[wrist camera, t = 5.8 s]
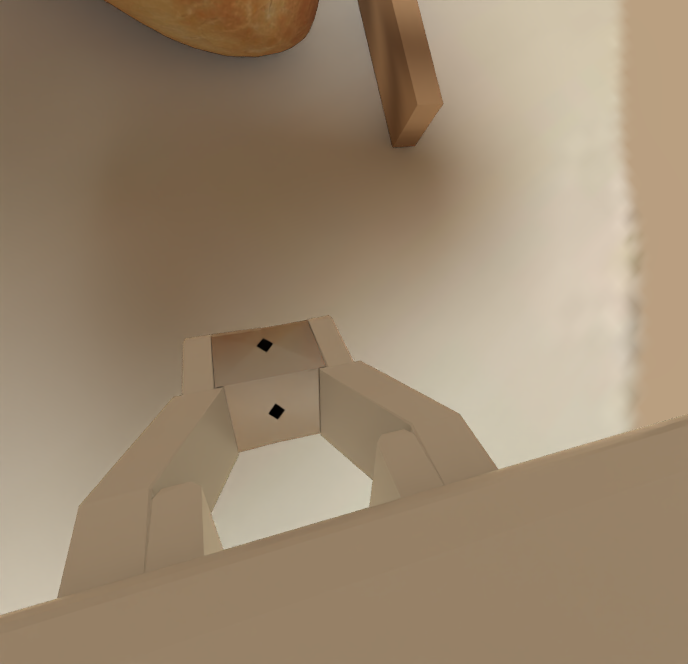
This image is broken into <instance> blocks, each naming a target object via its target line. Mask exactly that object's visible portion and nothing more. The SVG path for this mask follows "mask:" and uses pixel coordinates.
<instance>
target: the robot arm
mask: <svg viewBox="0 0 688 664" xmlns="http://www.w3.org/2000/svg"><path fill="white" fill-rule="evenodd" d="M320 433H321V436H322V437H324V438H325V439H326V440H327V441H328V442H329V443H330V444H332V445H333V446H334V447H335V448H336V449H337V450H338V451H340V452H341V453H342V454H343V455H344V456H345V457H347V458H348V459H349V460H350V461H351V462H352V463H353V464H355V465H356V466H357V467H358V468H359V469H360V470H361V471H363V472H364V473H365V474H366V475H367V476H368V477H370V478H371V479H372V480H373V482H372V489H371V497H370V505H369V508H365V509H362V510H358V511H355V512H352V513H348V514H345V515H341V516H338V517H335V518H331V519H328V520H324V521H321V522H317V523H314V524H311V525H307V526H304V527H300V528H297V529H294V530H290V531H287V532H283V533H280V534H276V535H273V536H270V537H266V538H263V539H259V540H256V541H252V542H249V543H246V544H242V545H239V546H235V547H232V548H229V549H225V550H223V547H222V544H221V541H220V538H219V535H218V533H217V530H216V527H215V524H214V521H213V518H212V515H211V512H212V510H213V508H214V506H215V504H216V502H217V500H218V498H219V496H220V493H221V491H222V489H223V487H224V485H225V483H226V481H227V479H228V477H229V475H230V472H231V470H232V468H233V466H234V464H235V462H236V460H237V458H238V456H239V454H238V453H239V452H243V451H246V450H250V449H254V448H258V447H262V446H265V445H269V444H273V443H277V442H281V441H286V440H291V439H295V438H300V437H305V436H310V435H315V434H320ZM0 664H688V414H686V415H683V416H679V417H676V418H673V419H669V420H666V421H662V422H659V423H655V424H652V425H649V426H645V427H642V428H638V429H635V430H632V431H628V432H625V433H621V434H618V435H614V436H611V437H608V438H604V439H601V440H597V441H594V442H591V443H587V444H584V445H580V446H577V447H574V448H570V449H567V450H563V451H560V452H556V453H553V454H550V455H546V456H543V457H539V458H536V459H533V460H529V461H526V462H522V463H519V464H516V465H512V466H509V467H505V468H502V469H498V468H497V467H496V465H495V464H494V462H493V461H492V460H491V458H490V457H489V455H488V454H487V452H486V451H485V449H484V448H483V447H482V445H481V444H480V442H479V441H478V439H477V438H476V437H475V435H474V434H473V432H472V431H471V429H470V428H469V427H468V425H467V424H466V422H465V421H464V419H463V418H462V417H461V415H460V414H459V413H457V412H455V411H453V410H451V409H449V408H448V407H446V406H444V405H442V404H440V403H438V402H436V401H435V400H433V399H431V398H429V397H427V396H425V395H423V394H422V393H420V392H418V391H416V390H414V389H412V388H410V387H409V386H407V385H405V384H403V383H401V382H399V381H397V380H395V379H394V378H392V377H390V376H388V375H386V374H384V373H382V372H381V371H379V370H377V369H375V368H373V367H371V366H369V365H368V364H366V363H364V362H362V361H357V362H354V361H353V359H352V357H351V355H350V353H349V351H348V349H347V347H346V345H345V343H344V341H343V339H342V337H341V335H340V333H339V331H338V329H337V327H336V325H335V323H334V321H333V319H332V317H330V316H329V315H328V316H322V317H317V318H312V319H307V320H305V321H299V322H293V323H287V324H281V325H275V326H269V327H263V328H261V327H260V328H253V329H246V330H238V331H231V332H224V333H217V334H212V335H203V336H197V337H190V338H185V340H184V342H183V367H182V395H180V396H175V397H173V398H172V399H171V400H170V402H169V403H168V404H167V405H166V406H165V407H164V409H163V410H162V411H161V412H160V413H159V414H158V415H157V417H156V418H155V419H154V420H153V421H152V422H151V424H150V425H149V426H148V427H147V428H146V429H145V430H144V432H143V433H142V434H141V435H140V436H139V437H138V439H137V440H136V441H135V442H134V443H133V444H132V445H131V447H130V448H129V449H128V450H127V451H126V452H125V454H124V455H123V456H122V457H121V458H120V459H119V460H118V462H117V463H116V464H115V465H114V466H113V467H112V469H111V470H110V471H109V472H108V473H107V474H106V475H105V477H104V478H103V479H102V480H101V481H100V482H99V484H98V485H97V486H96V487H95V488H94V489H93V490H92V492H91V493H90V494H89V495H88V496H87V497H86V499H85V500H84V501H83V502H82V503H81V504H80V506H79V508H78V513H77V517H76V521H75V525H74V530H73V534H72V538H71V542H70V547H69V551H68V555H67V559H66V564H65V568H64V572H63V576H62V581H61V585H60V589H59V593H58V597H57V599H54V600H51V601H47V602H44V603H40V604H37V605H33V606H30V607H27V608H23V609H20V610H16V611H13V612H10V613H6V614H3V615H0Z"/></svg>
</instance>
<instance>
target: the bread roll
mask: <svg viewBox="0 0 688 664" xmlns="http://www.w3.org/2000/svg"><path fill="white" fill-rule="evenodd" d="M104 1H106V2H108V3H110V4H112V5H113V6H115V7H116V8H118V9H119V10H121V11H123V12H124V13H126V14H127V15H129V16H131V17H132V18H134V19H136V20H137V21H139V22H141V23H143V24H144V25H146V26H148V27H150V28H152V29H154V30H155V31H157V32H159V33H161V34H162V35H164V36H166V37H169V38H171V39H173V40H176V41H178V42H181V43H183V44H186V45H188V46H191V47H193V48H197V49H201V50H205V51H209V52H213V53H217V54H221V55H225V56H251V57H259V56H263V55H268V54H274V53H278V52H282V51H284V50H287V49H289V48H292V47H293V46H294V45H296V44H297V43H298V42H300V41H301V40H302V39H304V38H305V37H306V35H307V34H308V32H309V30H310V28H311V26H312V23H313V21H314V19H315V15H316V11H317V7H318V2H319V0H104Z"/></svg>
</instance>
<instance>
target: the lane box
mask: <svg viewBox="0 0 688 664" xmlns="http://www.w3.org/2000/svg"><path fill="white" fill-rule="evenodd" d="M358 3H359V8H360V12H361V16H362V20H363V24H364V29H365V33H366V37H367V41H368V46H369V50H370V54H371V58H372V62H373V67H374V71H375V75H376V79H377V83H378V88H379V92H380V96H381V100H382V105H383V109H384V113H385V117H386V121H387V126H388V130H389V134H390V138H391V142H392V147H407V146H415V145H416V144H417V142H418V141H419V139H420V138H421V136H422V135H423V133H424V132H425V130H426V129H427V127H428V126H429V124H430V123H431V121H432V120H433V118H434V117H435V115H436V114H437V112H438V111H439V109H440V108H441V106H442V105H443V101H442V97H441V93H440V89H439V85H438V81H437V77H436V73H435V69H434V65H433V61H432V57H431V53H430V50H429V46H428V42H427V38H426V34H425V30H424V26H423V22H422V18H421V14H420V10H419V6H418V2H417V0H358Z"/></svg>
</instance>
